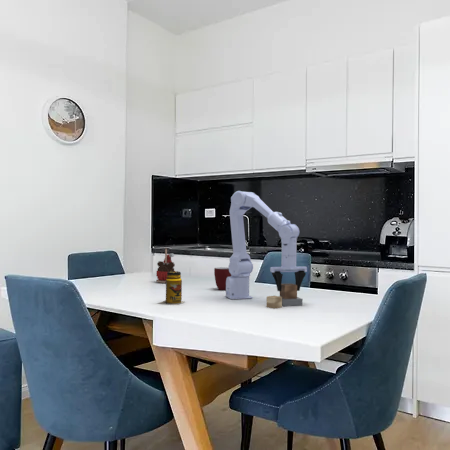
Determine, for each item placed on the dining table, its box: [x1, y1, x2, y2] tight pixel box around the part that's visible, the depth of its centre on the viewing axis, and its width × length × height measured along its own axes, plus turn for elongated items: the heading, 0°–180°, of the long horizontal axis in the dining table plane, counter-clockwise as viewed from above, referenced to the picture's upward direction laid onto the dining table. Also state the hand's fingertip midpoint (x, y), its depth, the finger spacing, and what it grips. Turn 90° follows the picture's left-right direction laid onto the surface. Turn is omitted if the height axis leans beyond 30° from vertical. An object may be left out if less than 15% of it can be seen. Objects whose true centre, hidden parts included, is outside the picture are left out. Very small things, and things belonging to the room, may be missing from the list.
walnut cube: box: [279, 283, 298, 299], centre depth 180 cm, size 5×5×5 cm
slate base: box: [278, 295, 303, 307], centre depth 180 cm, size 8×8×2 cm
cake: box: [155, 247, 175, 284], centre depth 241 cm, size 11×9×18 cm
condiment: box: [159, 270, 185, 306], centre depth 180 cm, size 7×8×12 cm
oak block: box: [266, 295, 283, 310], centre depth 173 cm, size 4×4×4 cm
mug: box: [213, 266, 231, 291], centre depth 218 cm, size 10×8×10 cm
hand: (288, 290), depth 180 cm, fingers open, 7 cm apart
